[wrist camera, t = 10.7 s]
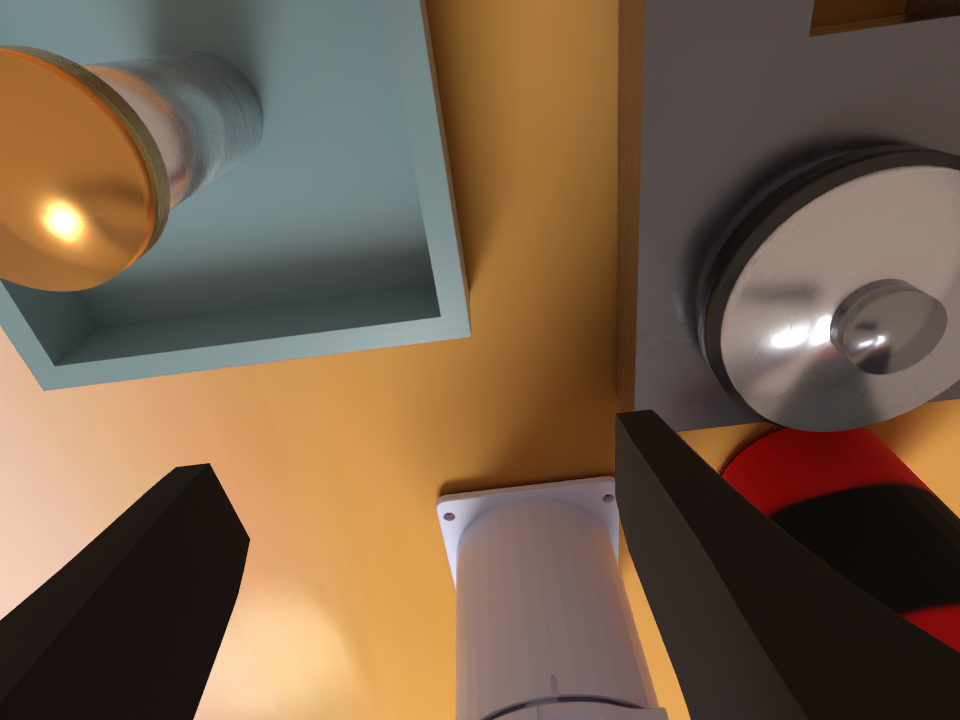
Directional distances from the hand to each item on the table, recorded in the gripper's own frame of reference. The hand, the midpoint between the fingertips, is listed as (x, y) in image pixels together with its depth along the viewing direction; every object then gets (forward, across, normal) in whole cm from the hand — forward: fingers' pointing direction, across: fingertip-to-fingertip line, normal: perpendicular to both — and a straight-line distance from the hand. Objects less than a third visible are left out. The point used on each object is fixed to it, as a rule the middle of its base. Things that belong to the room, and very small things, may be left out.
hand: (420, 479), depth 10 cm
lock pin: (+10, +6, -5) cm, 13 cm away
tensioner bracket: (+10, -12, -2) cm, 16 cm away
